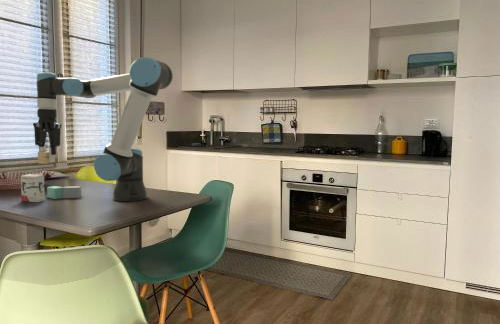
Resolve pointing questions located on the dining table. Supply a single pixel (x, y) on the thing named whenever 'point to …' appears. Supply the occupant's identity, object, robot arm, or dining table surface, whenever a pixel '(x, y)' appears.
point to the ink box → (32, 188)
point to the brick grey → (72, 192)
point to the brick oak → (45, 157)
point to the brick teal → (55, 192)
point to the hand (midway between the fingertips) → (47, 161)
